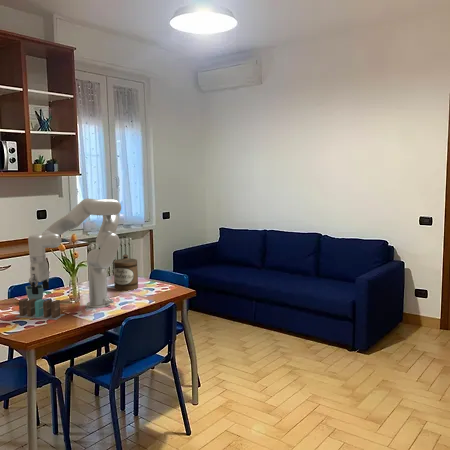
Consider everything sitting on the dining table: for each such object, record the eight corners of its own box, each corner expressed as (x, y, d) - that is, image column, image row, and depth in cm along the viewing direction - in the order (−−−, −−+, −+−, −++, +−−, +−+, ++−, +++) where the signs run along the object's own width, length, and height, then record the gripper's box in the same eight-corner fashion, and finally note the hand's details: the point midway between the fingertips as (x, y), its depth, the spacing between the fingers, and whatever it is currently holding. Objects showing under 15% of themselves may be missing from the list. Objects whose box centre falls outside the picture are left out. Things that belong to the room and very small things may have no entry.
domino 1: (28, 313, 244) (28, 298, 243) (23, 316, 239) (22, 301, 238) (25, 313, 244) (24, 298, 243) (19, 315, 239) (18, 300, 238)
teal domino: (44, 314, 242) (43, 299, 242) (39, 317, 238) (38, 301, 237) (40, 314, 243) (40, 299, 242) (35, 316, 238) (34, 301, 237)
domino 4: (60, 315, 241) (59, 300, 240) (55, 318, 236) (54, 302, 235) (56, 315, 241) (56, 300, 240) (51, 317, 236) (51, 302, 235)
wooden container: (110, 290, 293) (109, 256, 290) (120, 284, 307) (120, 252, 304) (132, 291, 289) (131, 257, 287) (141, 286, 304) (141, 253, 301)
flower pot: (27, 305, 260) (26, 289, 259) (26, 301, 267) (25, 286, 266) (44, 303, 264) (43, 287, 263) (42, 299, 271) (41, 284, 270)
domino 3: (52, 314, 242) (51, 299, 241) (47, 317, 237) (46, 302, 236) (48, 314, 242) (48, 299, 241) (43, 317, 237) (42, 302, 236)
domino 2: (36, 313, 243) (35, 298, 242) (31, 316, 238) (30, 301, 237) (33, 313, 244) (32, 298, 243) (27, 316, 239) (26, 301, 238)
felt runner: (65, 314, 243) (65, 314, 243) (56, 320, 234) (56, 319, 234) (24, 312, 246) (24, 311, 246) (14, 317, 238) (14, 317, 238)
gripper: (35, 262, 228) (38, 296, 230) (53, 255, 245) (56, 286, 247) (21, 262, 229) (24, 296, 231) (40, 255, 246) (43, 286, 248)
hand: (40, 291), depth 239 cm, fingers open, 9 cm apart
